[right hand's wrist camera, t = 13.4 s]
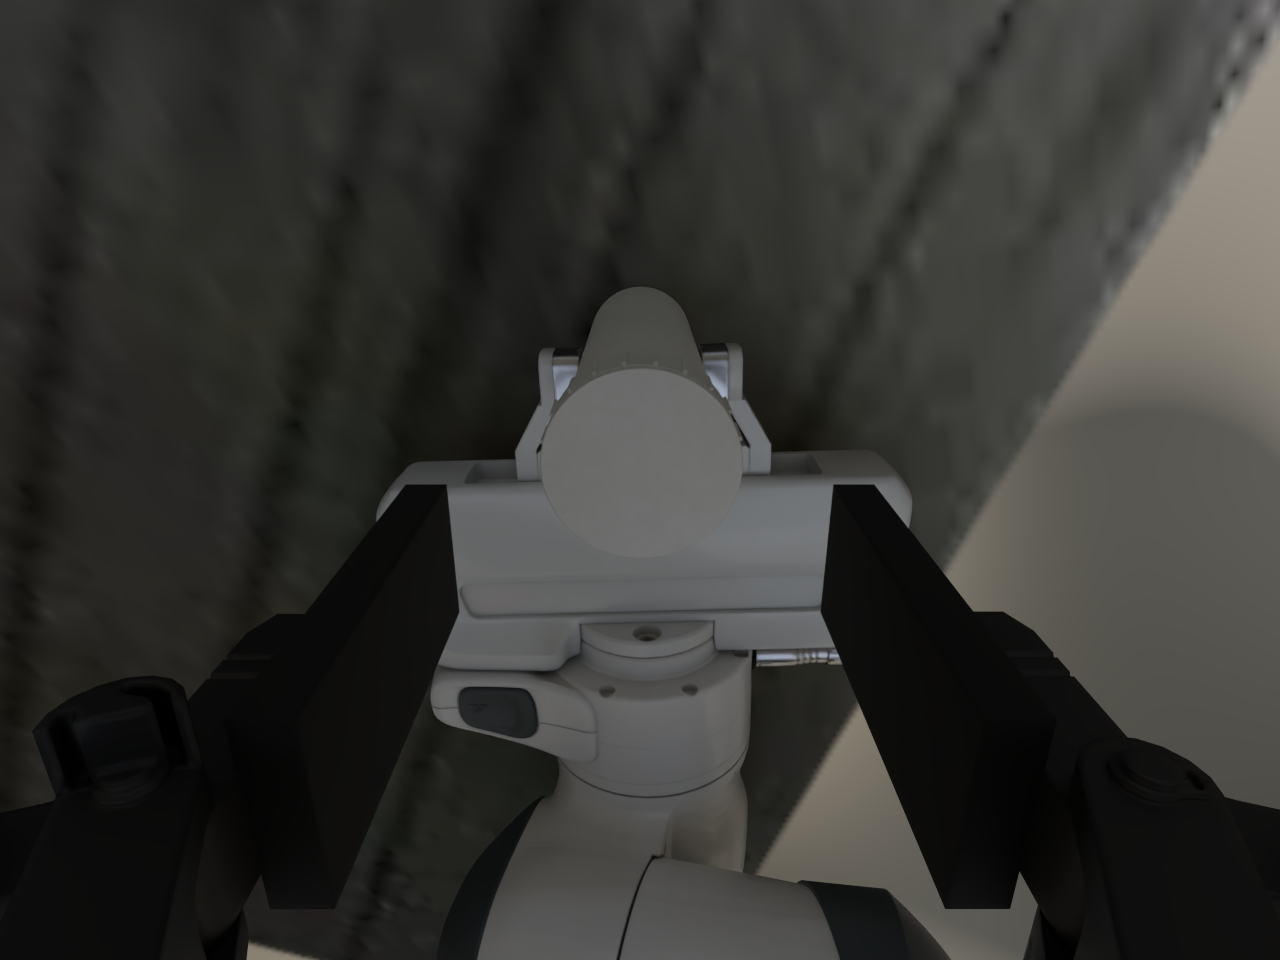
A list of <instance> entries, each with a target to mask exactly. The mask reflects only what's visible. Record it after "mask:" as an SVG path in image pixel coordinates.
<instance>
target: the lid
mask: <svg viewBox="0 0 1280 960" xmlns="http://www.w3.org/2000/svg"><path fill="white" fill-rule="evenodd" d="M731 413H733V412H732V410H731V407H730V405H729V402H728V400H727V398H726V396H725V397H723V398H722V396H721V394H720V393H719V391H718V390H717V389H716V388H715V387H714V385H713V384H712V382H711V379H710V377H709V376H708V375H706V376H704V375H702V374H701V373H700V372H698V371H697V370H695V369H694V368H693V367H691V366H689V365H687V364H686V360H684V359H681V361H679V360H676V359H673V358H670V357H667V356H662V355H658V354H657V351H653V352H652V354H649V353H634V354H627V351H625V352H622V355H620V356H616V357H613V358H610V359H606V360H604V361H602V362H600V363H599V361H598V360H597V361H595V362H594V365H593V366H592V367H591V368H589V369H587V370H586V371H584V372H583V373H582V374H581V375H579V376H578V377H577V378H576V379H575V378H574V377H572V378H571V380H570V383H569V385H568V387H567V389H566V390H565V391H564V393H563V394H562V396H561V397H560V399H559V401H558V400H556V399H555V401H554V404H553V406H552V409H551V411H550V414H549V416H550V417H551V419H550V422H549V424H548V426H546V427H545V430H544V432H543V435H542V437H541V440H540V444H542V448H541V453H540V473H541V479H542V483H543V487H544V491H545V494H546V496H547V499H548V501H549V503H550V505H551V507H552V509H553V510H554V512H555V514H556V515H557V516H558V518H559V519H560V520H561V522H562V523H563V524H564V525H565V526H566V527H567V528H568V529H569V530H570V531H571V532H572V533H573V534H575V535H576V536H577V537H578V538H580V539H581V540H583V541H584V542H586V543H587V544H589V545H591V546H593V547H595V548H597V549H599V550H601V551H604V552H607V553H610V554H613V555H617V556H622V557H628V558H654V557H661V556H666V555H669V554H673V553H676V552H679V551H681V550H684V549H686V548H688V547H690V546H692V545H694V544H696V543H697V542H699V541H700V540H702V539H703V538H704V537H706V536H707V535H709V534H710V533H711V532H712V531H713V530H714V529H715V528H716V527H717V526H718V525H719V524H720V523H721V521H722V520H723V519H724V518H725V516H726V515H727V513H728V512H729V510H730V509H731V507H732V505H733V503H734V501H735V499H736V496H737V494H738V491H739V487H740V484H741V479H742V472H743V467H744V465H743V454H742V447H741V442H740V441H742V436H741V433H740V431H739V428H738V426H737V423H736V422H735V423H734V422H733V419H732V417H731Z"/></svg>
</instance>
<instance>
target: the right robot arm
mask: <svg viewBox="0 0 1280 960" xmlns="http://www.w3.org/2000/svg"><path fill="white" fill-rule="evenodd" d="M459 612H460V611H459V601H458V591H457V581H456V571H455V562H454V552H453V542H452V532H451V522H450V512H449V502H448V492H447V484H406V485H405V486H404V487H403V489H402V490H401V491H400V492H399V494H398V495H397V496H396V498H395V499H394V500H393V501H392V503H391V504H390V505H389V507H388V508H387V509H386V510H385V512H384V513H383V514H382V516H381V517H380V518H379V519H378V521H377V522H376V523H375V525H374V526H373V527H372V528H371V530H370V531H369V532H368V534H367V535H366V536H365V537H364V539H363V540H362V541H361V543H360V544H359V545H358V546H357V548H356V549H355V550H354V551H353V553H352V554H351V555H350V557H349V558H348V559H347V560H346V562H345V563H344V564H343V566H342V567H341V568H340V569H339V571H338V572H337V573H336V575H335V576H334V577H333V578H332V580H331V581H330V582H329V584H328V585H327V586H326V587H325V589H324V590H323V591H322V593H321V594H320V595H319V596H318V598H317V599H316V600H315V602H314V603H313V604H312V605H311V607H310V608H309V609H308V611H307V612H306V613H305V614H277V615H275V616H274V617H272V618H270V619H269V620H267V621H266V622H264V623H262V624H261V625H259V626H258V627H256V628H254V629H253V630H251V631H250V632H248V633H247V634H246V635H245V636H244V637H243V638H242V639H241V640H240V642H239V643H238V644H237V645H236V646H235V647H234V648H233V650H232V651H231V652H230V653H229V654H228V655H227V660H223V661H222V662H221V663H220V665H219V666H218V667H217V668H216V669H215V670H214V671H213V673H212V674H211V679H206V681H205V682H204V683H203V684H202V685H201V686H200V687H199V689H198V690H197V691H196V692H195V693H194V694H193V695H192V697H191V698H190V699H189V700H188V701H187V697H186V693H185V690H184V687H183V686H181V685H180V684H179V683H177V682H176V681H175V680H173V679H171V678H165V677H158V676H142V677H131V678H124V679H121V680H117V681H113V682H110V683H106V684H102V685H99V686H96V687H94V688H92V689H90V690H87V691H85V692H83V693H81V694H78V695H76V696H74V697H72V698H70V699H68V700H67V701H65V702H64V703H62V704H61V705H59V706H58V707H56V708H55V709H54V710H52V711H51V712H49V713H48V714H46V716H45V717H44V718H43V719H42V720H41V721H40V723H39V724H38V725H37V726H36V727H35V728H34V730H33V731H32V732H33V735H34V737H35V740H36V743H37V746H38V748H39V751H40V754H41V757H42V759H43V762H44V765H45V768H46V770H47V773H48V776H49V778H50V781H51V784H52V787H53V789H54V792H55V795H56V798H55V800H54V801H51V802H48V803H44V804H39V805H35V806H30V807H26V808H21V809H17V810H12V811H7V812H3V813H0V960H246V959H247V949H248V940H249V935H248V928H247V922H246V918H245V914H244V910H243V906H244V904H245V902H246V900H247V898H248V897H249V895H250V893H251V891H252V889H253V888H254V886H255V884H256V882H257V880H258V878H259V877H260V875H262V879H263V883H264V887H265V891H266V895H267V899H268V903H269V907H270V909H335V907H336V905H337V902H338V900H339V898H340V895H341V893H342V890H343V888H344V886H345V883H346V881H347V879H348V876H349V874H350V871H351V869H352V867H353V864H354V862H355V860H356V857H357V855H358V852H359V850H360V848H361V845H362V843H363V841H364V838H365V836H366V833H367V831H368V829H369V826H370V824H371V822H372V819H373V817H374V814H375V812H376V810H377V807H378V805H379V803H380V800H381V798H382V795H383V793H384V791H385V788H386V786H387V784H388V781H389V779H390V776H391V774H392V772H393V769H394V767H395V764H396V762H397V760H398V757H399V755H400V753H401V750H402V748H403V745H404V743H405V741H406V738H407V736H408V734H409V731H410V729H411V726H412V724H413V722H414V719H415V717H416V715H417V712H418V710H419V707H420V705H421V703H422V700H423V698H424V696H425V693H426V691H427V688H428V686H429V684H430V681H431V679H432V677H433V674H434V672H435V669H436V667H437V665H438V662H439V660H440V658H441V655H442V653H443V650H444V648H445V646H446V643H447V641H448V639H449V636H450V634H451V631H452V629H453V627H454V624H455V622H456V619H457V617H458V615H459ZM820 612H821V615H822V617H823V619H824V622H825V624H826V627H827V629H828V631H829V634H830V636H831V639H832V641H833V643H834V646H835V648H836V650H837V653H838V655H839V658H840V660H841V662H842V665H843V667H844V669H845V672H846V674H847V677H848V679H849V681H850V684H851V686H852V688H853V691H854V693H855V696H856V698H857V700H858V703H859V705H860V707H861V710H862V712H863V715H864V717H865V719H866V722H867V724H868V726H869V729H870V731H871V734H872V736H873V738H874V741H875V743H876V745H877V748H878V750H879V753H880V755H881V757H882V760H883V762H884V765H885V767H886V769H887V771H888V774H889V776H890V779H891V781H892V783H893V786H894V788H895V791H896V793H897V795H898V798H899V800H900V803H901V805H902V807H903V810H904V812H905V814H906V817H907V819H908V822H909V824H910V826H911V829H912V831H913V833H914V836H915V838H916V841H917V843H918V845H919V848H920V850H921V852H922V855H923V857H924V860H925V862H926V864H927V867H928V869H929V871H930V874H931V876H932V879H933V881H934V883H935V886H936V888H937V890H938V893H939V895H940V898H941V900H942V902H943V905H944V907H945V909H1010V907H1011V903H1012V899H1013V895H1014V890H1015V887H1016V883H1017V879H1018V874H1019V871H1020V873H1021V874H1022V876H1023V878H1024V880H1025V882H1026V884H1027V885H1028V887H1029V889H1030V891H1031V893H1032V894H1033V896H1034V898H1035V900H1036V902H1037V904H1038V907H1037V910H1036V914H1035V918H1034V921H1033V925H1032V929H1031V933H1030V936H1029V940H1028V944H1027V948H1026V951H1025V955H1024V959H1023V960H1280V810H1279V809H1274V808H1269V807H1265V806H1260V805H1256V804H1251V803H1247V802H1242V801H1238V800H1234V799H1230V798H1226V797H1224V795H1223V794H1222V792H1221V791H1220V789H1219V788H1218V787H1217V785H1216V784H1215V782H1214V781H1213V780H1212V778H1211V777H1210V776H1208V775H1207V774H1206V773H1204V772H1203V771H1202V770H1201V769H1199V768H1198V767H1197V766H1196V765H1194V764H1193V763H1192V762H1191V761H1189V760H1187V759H1185V758H1184V757H1182V756H1180V755H1178V754H1176V753H1174V752H1172V751H1170V750H1168V749H1166V748H1164V747H1161V746H1158V745H1155V744H1152V743H1149V742H1146V741H1142V740H1139V739H1136V738H1128V737H1127V736H1126V735H1125V734H1124V733H1123V732H1122V731H1121V729H1120V728H1119V727H1118V726H1117V725H1116V724H1115V723H1114V721H1113V720H1112V719H1111V718H1110V717H1109V716H1108V715H1107V714H1106V712H1105V711H1104V710H1103V709H1102V708H1101V707H1100V706H1099V704H1098V703H1097V702H1096V701H1095V700H1094V699H1093V698H1092V696H1091V695H1090V694H1089V693H1088V692H1087V691H1086V690H1085V688H1084V687H1083V686H1082V685H1081V684H1080V683H1079V682H1078V681H1077V679H1076V678H1075V677H1071V676H1070V671H1069V670H1068V669H1067V668H1066V667H1065V666H1064V665H1063V664H1062V662H1061V661H1060V660H1059V659H1058V658H1054V656H1053V652H1052V651H1051V650H1050V649H1049V648H1048V646H1047V645H1046V644H1045V643H1044V642H1043V641H1042V640H1041V638H1040V637H1039V636H1038V635H1037V634H1036V633H1035V632H1034V631H1033V630H1032V629H1030V628H1028V627H1027V626H1025V625H1024V624H1022V623H1020V622H1019V621H1017V620H1016V619H1014V618H1012V617H1011V616H1009V615H1008V614H1006V613H1004V612H973V611H972V609H971V608H970V607H969V605H968V604H967V603H966V602H965V600H964V599H963V598H962V597H961V595H960V594H959V593H958V591H957V590H956V589H955V587H954V586H953V585H952V584H951V582H950V581H949V580H948V578H947V577H946V576H945V575H944V573H943V572H942V571H941V569H940V568H939V567H938V566H937V564H936V563H935V562H934V560H933V559H932V558H931V557H930V555H929V554H928V553H927V551H926V550H925V549H924V548H923V546H922V545H921V544H920V543H919V541H918V540H917V539H916V537H915V536H914V535H913V534H912V532H911V531H910V530H909V528H908V527H907V526H906V525H905V523H904V522H903V521H902V519H901V518H900V517H899V516H898V514H897V513H896V512H895V510H894V509H893V508H892V507H891V505H890V504H889V503H888V501H887V500H886V499H885V498H884V496H883V495H882V494H881V492H880V491H879V490H878V489H877V487H876V486H875V485H874V484H833V492H832V502H831V512H830V522H829V532H828V542H827V552H826V562H825V571H824V581H823V591H822V601H821V611H820Z"/></svg>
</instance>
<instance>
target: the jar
mask: <svg viewBox="0 0 1280 960" xmlns="http://www.w3.org/2000/svg"><path fill="white" fill-rule="evenodd" d="M625 351H627V354H634V353H649V354H652V352H653V351H657V354H658V355H662V356H667V357H670V358H673V359H676V360H679V361H681V359H684V360H686V364H687V365H689V366H691V367H693V368H694V369H695V370H697V371H698V372H700V373H701V374H702V375H704V376H706V372H705V369H704V367H703V364H702V361H701V358H700V355H699V352H698V349H697V346H696V344H695V341H694V338H693V335H692V332H691V329H690V326H689V323H688V320H687V318H686V316H685V313H684V312H683V310H682V308H681V307H680V306H679V304H678V303H677V302H676V301H675V300H674V299H673V298H672V297H670V296H669V295H667V294H666V293H664V292H662V291H660V290H657V289H654V288H650V287H632V288H627V289H624V290H622V291H619V292H617V293H616V294H614V295H613V296H611V297H610V298H609V299H608V300H606V301H605V303H604V304H603V305H602V306H601V307H600V309H599V310H598V312H597V314H596V316H595V319H594V322H593V325H592V328H591V331H590V334H589V337H588V340H587V343H586V346H585V349H584V352H583V355H582V358H581V361H580V364H579V367H578V370H577V373H576V376H575V379H576V378H577V377H578V376H579V375H581V374H582V373H583V372H584V371H586V370H587V369H589V368H591V367H592V366H593V365H594V362H595V361H597V360H598V361H599V363H600V362H602V361H604V360H606V359H610V358H613V357H616V356H620V355H622V352H625Z"/></svg>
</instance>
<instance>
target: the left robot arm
mask: <svg viewBox="0 0 1280 960" xmlns="http://www.w3.org/2000/svg"><path fill="white" fill-rule="evenodd" d="M699 355H700V358H701V361H702V364H703V367H704V369H705V372H706V375H708V376H709V377H710V379H711V382H712V384H713V385H714V387H715V388H716V389H717V390H718V391H719V393H720V394H721V396H722V398H723V397H725V396H726V398H727V400H728V402H729V405H730V407H731V410H732V412H733V413H732V415H733V417H734V418H735V420H736V422H737V424H738V425H739V427H740V429H741V430H742V431H741V430H740V429H739V431H740V433H741V436H742V441H740V442H741V447H742V454H743V465H744V467H743V472H742V479H741V484H740V487H739V491H738V494H737V496H736V499H735V501H734V503H733V505H732V507H731V509H730V510H729V512H728V513H727V515H726V516H725V518H724V519H723V520H722V521H721V523H720V524H719V525H718V526H717V527H716V528H715V529H714V530H713V531H712V532H711V533H710V534H709V535H707V536H706V537H704V538H703V539H702V540H700V541H699V542H697V543H696V544H694V545H692V546H690V547H688V548H686V549H684V550H681V551H679V552H676V553H673V554H669V555H666V556H661V557H654V558H628V557H622V556H617V555H613V554H610V553H607V552H604V551H601V550H599V549H597V548H595V547H593V546H591V545H589V544H587V543H586V542H584V541H583V540H581V539H580V538H578V537H577V536H576V535H575V534H573V533H572V532H571V531H570V530H569V529H568V528H567V527H566V526H565V525H564V524H563V523H562V522H561V520H560V519H559V518H558V516H557V515H556V514H555V512H554V510H553V509H552V507H551V505H550V503H549V501H548V499H547V496H546V494H545V491H544V487H543V483H542V479H541V473H540V453H541V448H542V444H540V440H541V437H542V435H543V432H544V430H545V427H546V426H548V424H549V422H550V419H551V417H550V416H549V414H550V411H551V409H552V406H553V404H554V401H555V399H556V400H558V401H559V399H560V397H561V396H562V394H563V393H564V391H565V390H566V389H567V387H568V385H569V383H570V380H571V378H572V377H574V378H575V376H576V373H577V370H578V367H579V364H580V361H581V358H582V349H581V348H543V349H542V350H541V352H540V353H539V363H538V369H539V382H540V395H541V399H540V401H539V403H538V405H537V407H536V409H535V411H534V413H533V415H532V417H531V419H530V421H529V423H528V425H527V427H526V429H525V431H524V433H523V435H522V438H521V440H520V442H519V444H518V446H517V448H516V450H515V457H516V459H501V460H465V461H425V462H416V463H413V464H411V465H410V466H409V467H407V468H406V469H405V471H404V472H403V473H402V474H401V475H400V476H399V477H398V478H397V479H396V480H395V481H394V482H393V483H392V485H391V486H390V487H389V489H388V490H387V492H386V493H385V495H384V496H383V498H382V500H381V502H380V504H379V506H378V509H377V514H376V522H377V521H378V519H379V518H380V517H381V516H382V514H383V513H384V512H385V510H386V509H387V508H388V507H389V505H390V504H391V503H392V501H393V500H394V499H395V498H396V496H397V495H398V494H399V492H400V491H401V490H402V489H403V487H404V486H405V485H406V484H447V492H448V502H449V512H450V522H451V532H452V542H453V552H454V562H455V571H456V581H457V591H458V601H459V611H460V612H459V615H458V617H457V619H456V622H455V624H454V627H453V629H452V631H451V634H450V636H449V639H448V641H447V643H446V646H445V648H444V650H443V653H442V655H441V658H440V660H439V662H438V665H437V667H436V669H435V672H434V677H433V681H432V686H431V705H432V709H433V712H434V714H435V716H436V717H437V718H438V719H439V720H440V721H442V722H443V723H445V724H448V725H450V726H453V727H457V728H461V729H466V730H470V731H474V732H479V733H483V734H487V735H491V736H495V737H499V738H503V739H507V740H511V741H514V742H517V743H521V744H524V745H528V746H531V747H534V748H537V749H539V750H542V751H545V752H548V753H550V754H553V755H555V756H557V759H558V762H559V779H558V782H557V785H556V788H555V791H554V793H553V794H552V795H551V796H549V797H545V796H542V797H540V798H539V799H537V800H536V801H534V802H533V803H532V804H530V805H529V806H528V807H527V808H526V809H525V810H523V811H522V812H521V813H520V814H519V815H518V816H517V817H516V818H515V820H514V821H513V822H512V823H511V824H509V825H508V826H507V827H506V828H505V829H504V831H503V832H502V833H501V834H500V835H499V836H498V837H497V838H496V839H495V840H494V841H493V842H492V843H491V844H490V845H489V846H488V847H487V848H486V849H485V851H484V852H483V853H482V854H481V856H480V857H479V858H478V860H477V861H476V862H475V864H474V865H473V867H472V868H471V870H470V871H469V873H468V874H467V876H466V878H465V880H464V882H463V883H462V885H461V887H460V889H459V891H458V893H457V895H456V898H455V900H454V902H453V904H452V906H451V909H450V911H449V914H448V916H447V919H446V921H445V924H444V927H443V931H442V934H441V938H440V942H439V947H438V952H437V958H436V960H951V959H950V957H949V956H948V955H947V954H946V952H945V951H944V950H943V948H942V947H941V946H940V945H939V943H938V942H937V941H936V940H935V939H934V937H933V936H932V935H931V934H930V933H929V932H928V931H927V930H926V928H925V927H924V926H923V925H922V924H921V923H920V922H919V921H918V920H917V919H916V918H915V917H914V916H913V915H912V914H911V913H910V912H909V911H908V910H907V909H906V908H905V907H904V906H903V905H902V904H901V903H900V902H899V901H898V900H897V899H896V898H895V897H894V896H893V895H892V894H891V893H890V892H889V891H888V890H886V889H883V888H873V887H862V886H852V885H843V884H833V883H823V882H813V881H805V880H801V881H799V882H798V883H793V882H788V881H783V880H778V879H773V878H768V877H763V876H758V875H753V874H748V873H743V866H744V857H745V846H746V832H747V796H746V791H745V787H744V783H743V780H742V777H741V775H740V768H741V766H742V764H743V762H744V759H745V756H746V753H747V750H748V744H749V737H750V714H751V681H752V678H751V669H753V668H754V667H779V666H796V664H797V665H801V664H808V663H815V662H816V663H826V664H827V665H842V662H841V660H840V658H839V655H838V653H837V650H836V648H835V646H834V643H833V641H832V639H831V636H830V634H829V631H828V629H827V627H826V624H825V622H824V619H823V617H822V615H821V612H820V611H821V601H822V591H823V581H824V571H825V562H826V552H827V542H828V532H829V522H830V512H831V502H832V492H833V484H874V485H875V486H876V487H877V489H878V490H879V491H880V492H881V494H882V495H883V496H884V498H885V499H886V500H887V501H888V503H889V504H890V505H891V507H892V508H893V509H894V510H895V512H896V513H897V514H898V516H899V517H900V518H901V519H902V521H903V522H904V523H905V525H906V526H907V527H908V528H909V525H910V520H911V513H912V496H911V493H910V491H909V488H908V487H907V485H906V484H905V482H904V481H903V479H902V478H901V477H900V475H899V474H898V473H897V472H896V470H895V469H894V468H893V467H892V466H891V465H890V464H889V463H888V462H886V461H885V460H884V459H883V458H882V457H881V456H880V455H879V454H878V453H876V452H874V451H872V450H831V451H794V452H771V443H770V441H769V439H768V437H767V435H766V433H765V431H764V429H763V427H762V425H761V423H760V422H759V420H758V418H757V417H756V415H755V413H754V411H753V410H752V408H751V406H750V404H749V403H748V401H747V399H746V398H745V396H744V394H743V392H742V383H743V355H742V348H741V346H740V345H739V343H713V344H699Z"/></svg>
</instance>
